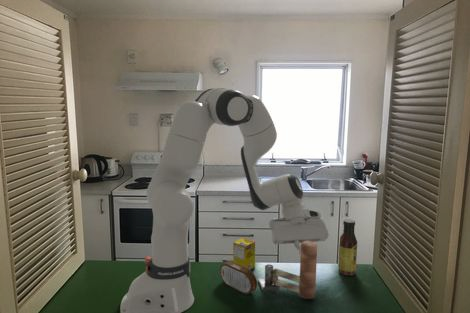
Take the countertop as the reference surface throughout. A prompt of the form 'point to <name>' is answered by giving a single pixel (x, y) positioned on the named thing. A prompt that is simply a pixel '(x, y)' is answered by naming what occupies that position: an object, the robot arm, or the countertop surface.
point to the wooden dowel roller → (301, 272)
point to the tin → (238, 277)
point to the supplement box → (244, 253)
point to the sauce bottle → (348, 249)
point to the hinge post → (268, 279)
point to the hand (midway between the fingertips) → (304, 254)
